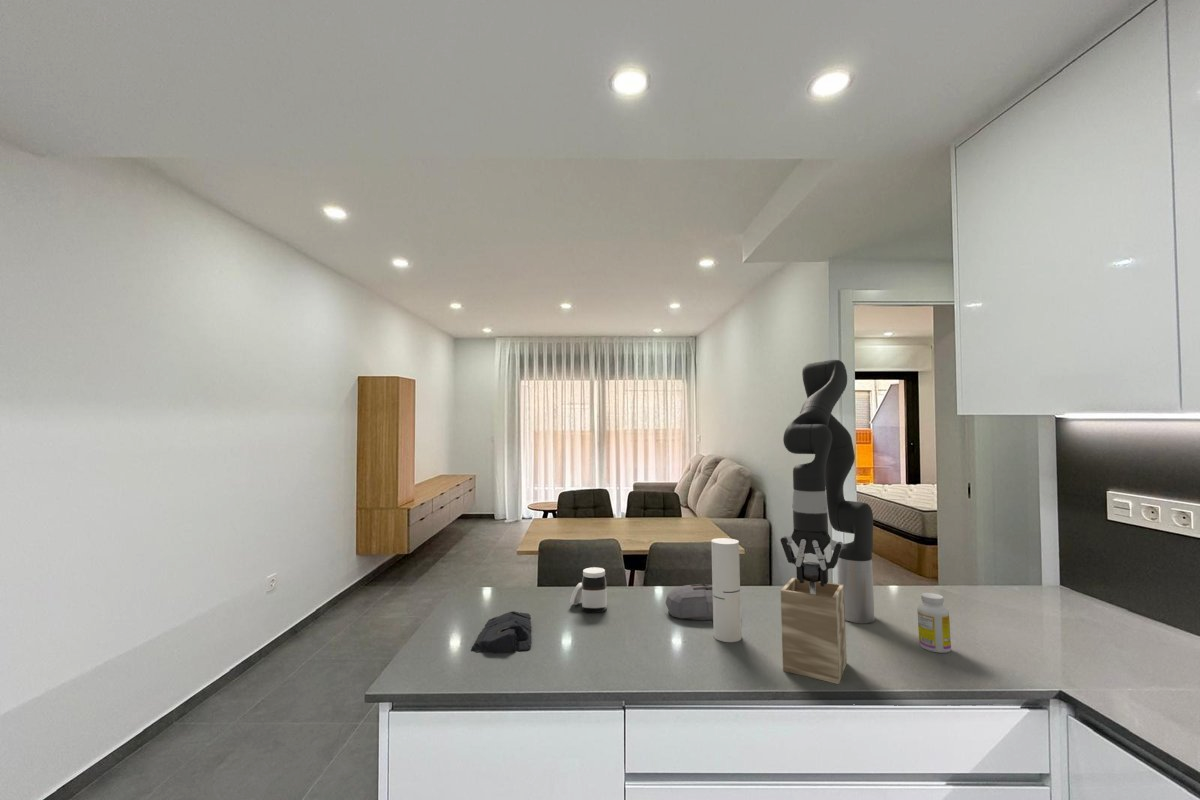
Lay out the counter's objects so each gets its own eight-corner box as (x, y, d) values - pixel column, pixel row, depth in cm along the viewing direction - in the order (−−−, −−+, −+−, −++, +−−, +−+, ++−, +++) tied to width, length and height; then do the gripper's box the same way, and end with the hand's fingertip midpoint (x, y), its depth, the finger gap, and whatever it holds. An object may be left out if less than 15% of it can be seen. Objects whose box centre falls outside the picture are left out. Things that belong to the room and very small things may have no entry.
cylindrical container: (742, 643, 132) (739, 544, 133) (713, 641, 133) (711, 543, 135) (740, 632, 139) (738, 538, 140) (713, 630, 140) (711, 537, 142)
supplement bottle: (946, 644, 130) (943, 592, 130) (954, 655, 123) (952, 601, 124) (916, 641, 132) (913, 590, 132) (922, 652, 126) (920, 598, 126)
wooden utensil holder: (794, 651, 126) (792, 577, 127) (846, 663, 120) (843, 584, 121) (783, 670, 117) (780, 590, 118) (838, 684, 110) (835, 598, 111)
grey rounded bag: (724, 604, 162) (661, 605, 161) (723, 577, 162) (661, 578, 161) (740, 622, 147) (670, 624, 146) (739, 592, 147) (669, 594, 146)
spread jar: (606, 614, 153) (606, 574, 154) (569, 614, 153) (568, 575, 154) (606, 600, 165) (606, 564, 166) (571, 601, 165) (571, 564, 166)
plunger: (799, 650, 125) (796, 557, 126) (839, 658, 120) (835, 562, 121) (790, 664, 117) (787, 565, 118) (832, 674, 112) (828, 571, 114)
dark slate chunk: (538, 621, 150) (538, 604, 150) (529, 654, 128) (529, 635, 128) (485, 622, 150) (485, 605, 150) (468, 656, 128) (468, 636, 128)
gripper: (845, 509, 120) (848, 584, 119) (782, 505, 127) (784, 575, 127) (840, 514, 113) (843, 593, 112) (774, 509, 121) (776, 583, 120)
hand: (812, 583), depth 119 cm, fingers closed on plunger, 4 cm apart
